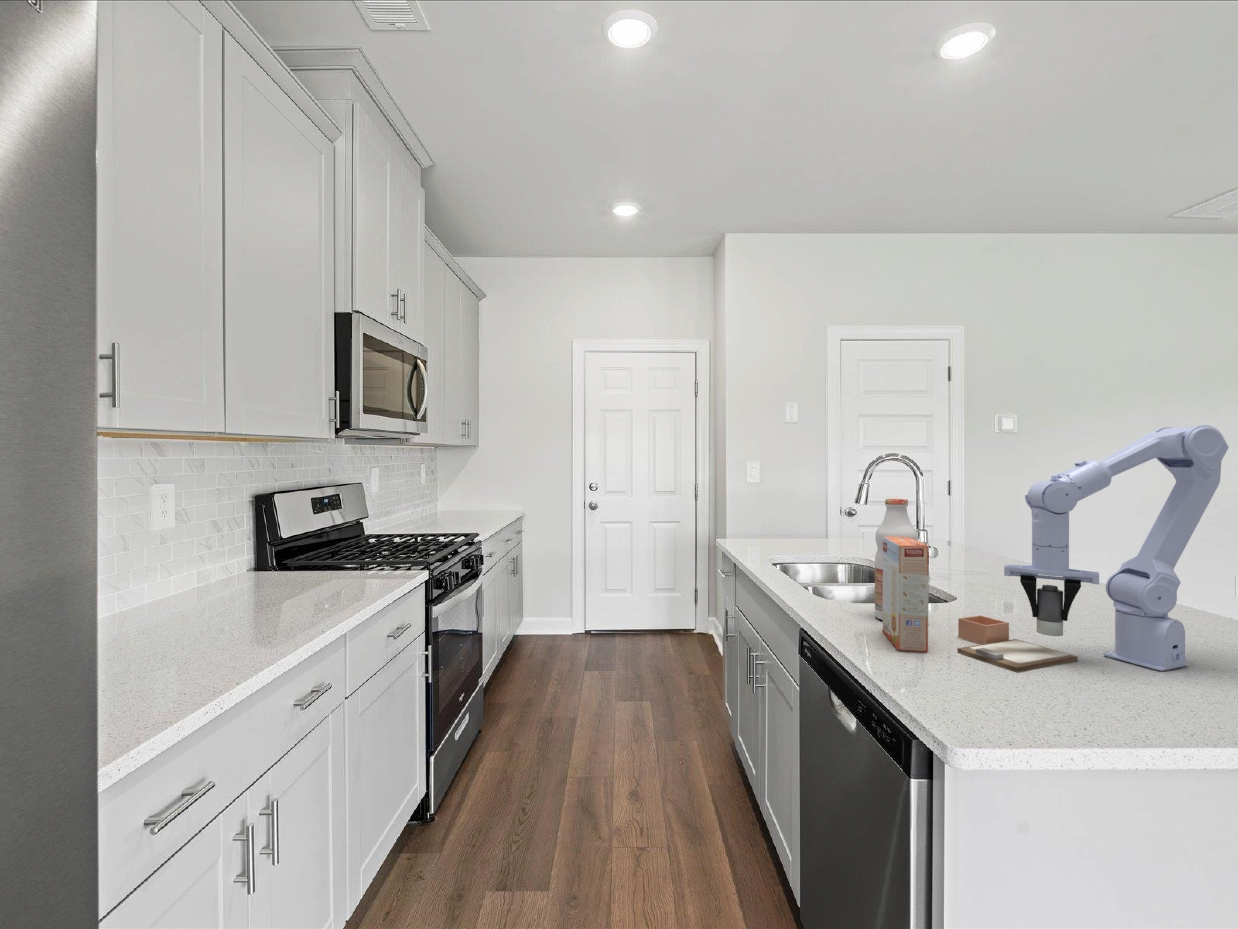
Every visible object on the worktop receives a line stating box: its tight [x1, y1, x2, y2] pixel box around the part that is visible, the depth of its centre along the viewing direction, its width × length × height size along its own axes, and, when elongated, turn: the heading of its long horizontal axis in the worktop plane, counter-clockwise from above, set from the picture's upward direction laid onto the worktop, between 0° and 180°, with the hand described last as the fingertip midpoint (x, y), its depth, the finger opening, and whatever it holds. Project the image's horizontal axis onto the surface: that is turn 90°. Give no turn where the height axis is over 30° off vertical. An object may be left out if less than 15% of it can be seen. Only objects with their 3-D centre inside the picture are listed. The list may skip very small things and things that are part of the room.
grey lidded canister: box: [1036, 584, 1064, 637], centre depth 117 cm, size 4×4×9 cm
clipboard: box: [956, 638, 1079, 673], centre depth 118 cm, size 12×16×2 cm
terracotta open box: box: [957, 615, 1010, 645], centre depth 128 cm, size 6×6×4 cm
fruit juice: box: [874, 498, 919, 620], centre depth 145 cm, size 9×9×28 cm
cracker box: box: [881, 537, 930, 653], centre depth 127 cm, size 14×6×21 cm, turn 168°
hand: (1049, 618), depth 117 cm, fingers closed on grey lidded canister, 4 cm apart
